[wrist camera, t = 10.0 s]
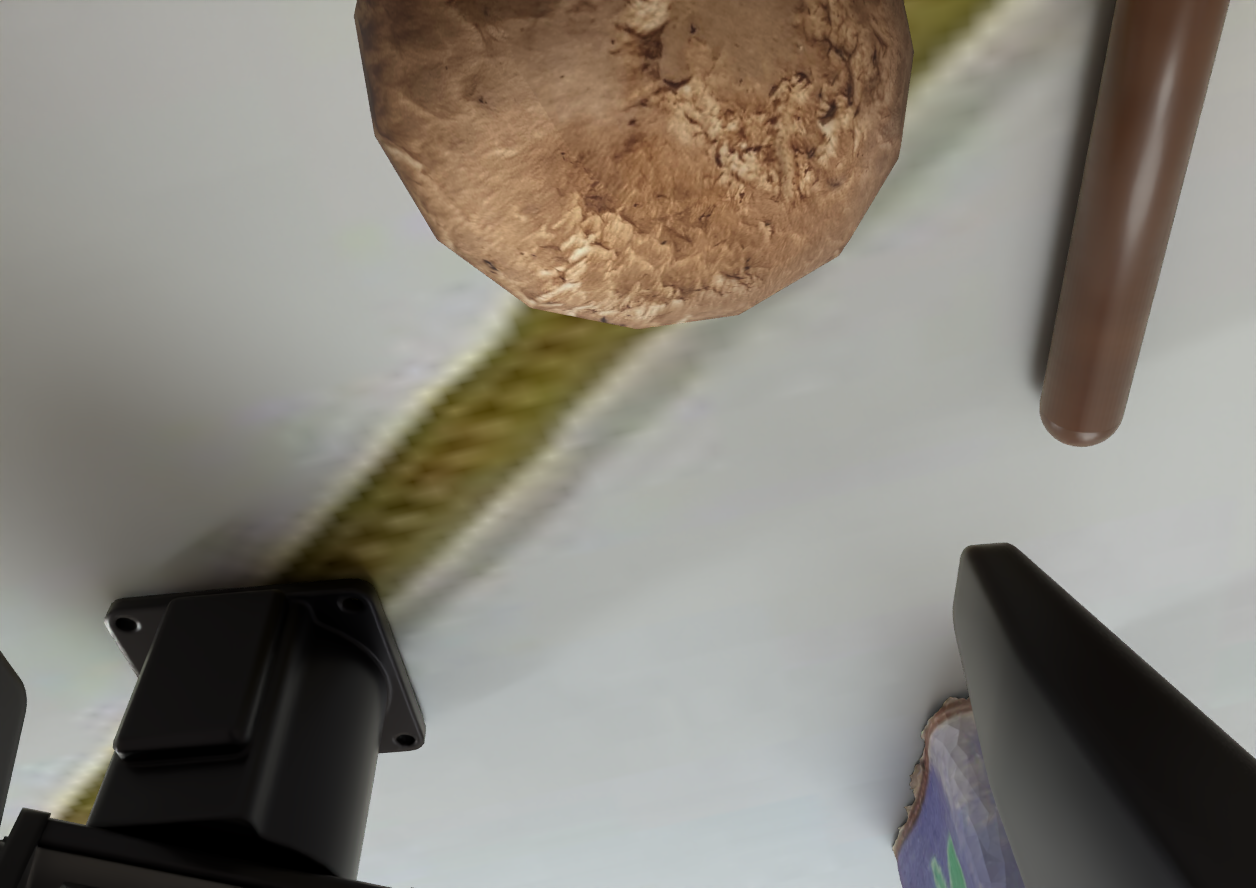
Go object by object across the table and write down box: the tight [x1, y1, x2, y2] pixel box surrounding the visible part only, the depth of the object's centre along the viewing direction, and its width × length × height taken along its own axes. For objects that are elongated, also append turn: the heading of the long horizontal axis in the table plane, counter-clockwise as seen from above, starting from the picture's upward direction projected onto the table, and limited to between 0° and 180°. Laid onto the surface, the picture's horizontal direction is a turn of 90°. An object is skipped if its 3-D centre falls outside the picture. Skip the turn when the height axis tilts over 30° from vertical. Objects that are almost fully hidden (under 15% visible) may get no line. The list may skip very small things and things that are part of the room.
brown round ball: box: [354, 0, 914, 329], centre depth 16 cm, size 8×8×6 cm
